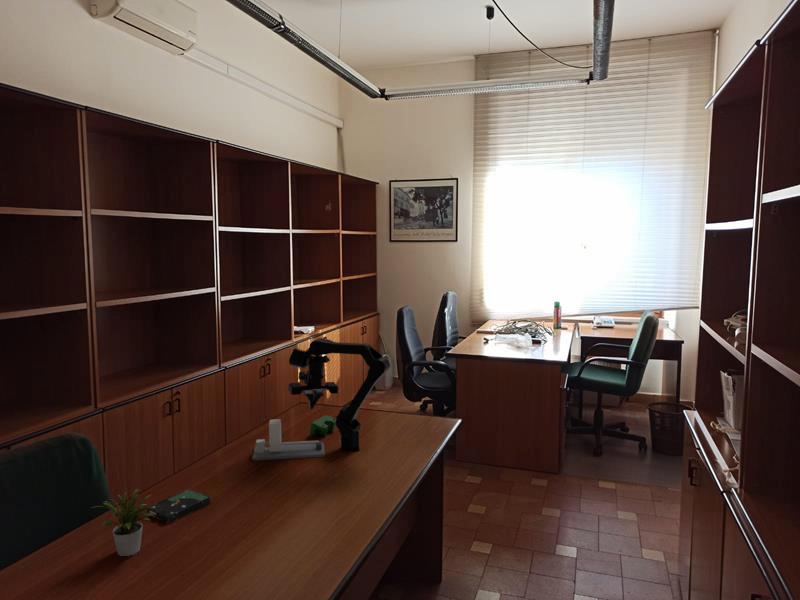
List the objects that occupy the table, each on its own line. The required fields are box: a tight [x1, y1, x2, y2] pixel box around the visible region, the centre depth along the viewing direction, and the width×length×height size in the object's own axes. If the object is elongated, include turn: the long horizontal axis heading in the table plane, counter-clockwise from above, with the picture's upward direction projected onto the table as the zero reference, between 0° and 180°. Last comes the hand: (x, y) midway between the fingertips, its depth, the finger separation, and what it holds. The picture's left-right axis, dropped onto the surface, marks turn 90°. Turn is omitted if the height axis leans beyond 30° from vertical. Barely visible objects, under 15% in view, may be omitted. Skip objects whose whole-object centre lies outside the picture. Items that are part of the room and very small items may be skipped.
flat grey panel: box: [251, 439, 326, 461], centre depth 216 cm, size 26×12×5 cm, turn 99°
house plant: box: [91, 487, 154, 557], centre depth 147 cm, size 14×14×16 cm
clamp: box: [309, 414, 337, 437], centre depth 237 cm, size 12×6×9 cm, turn 148°
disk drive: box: [146, 489, 211, 524], centre depth 172 cm, size 10×3×15 cm
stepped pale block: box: [268, 418, 282, 452], centre depth 215 cm, size 4×6×10 cm, turn 9°
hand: (311, 408), depth 225 cm, fingers closed
